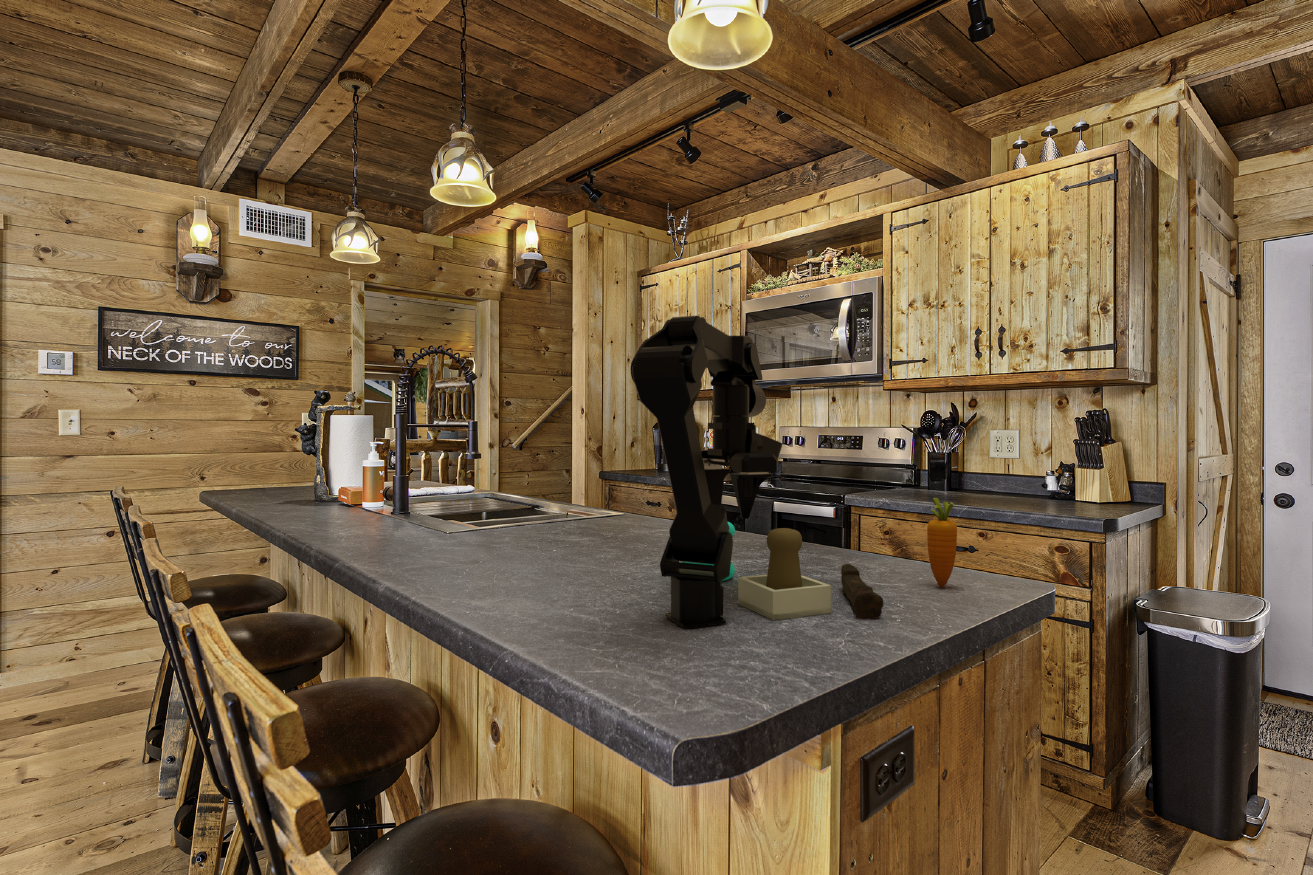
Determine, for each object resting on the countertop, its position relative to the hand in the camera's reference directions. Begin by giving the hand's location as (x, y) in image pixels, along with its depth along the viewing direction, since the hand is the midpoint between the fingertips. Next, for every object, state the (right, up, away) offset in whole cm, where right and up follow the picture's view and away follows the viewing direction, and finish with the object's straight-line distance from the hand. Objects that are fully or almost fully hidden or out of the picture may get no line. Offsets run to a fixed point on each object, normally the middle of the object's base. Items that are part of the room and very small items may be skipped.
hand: (730, 515), depth 108 cm
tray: (+7, -13, -7) cm, 16 cm away
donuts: (-3, -13, +14) cm, 20 cm away
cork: (+7, -13, -7) cm, 16 cm away
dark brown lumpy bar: (+19, -14, -3) cm, 23 cm away
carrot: (+36, -13, +7) cm, 39 cm away
